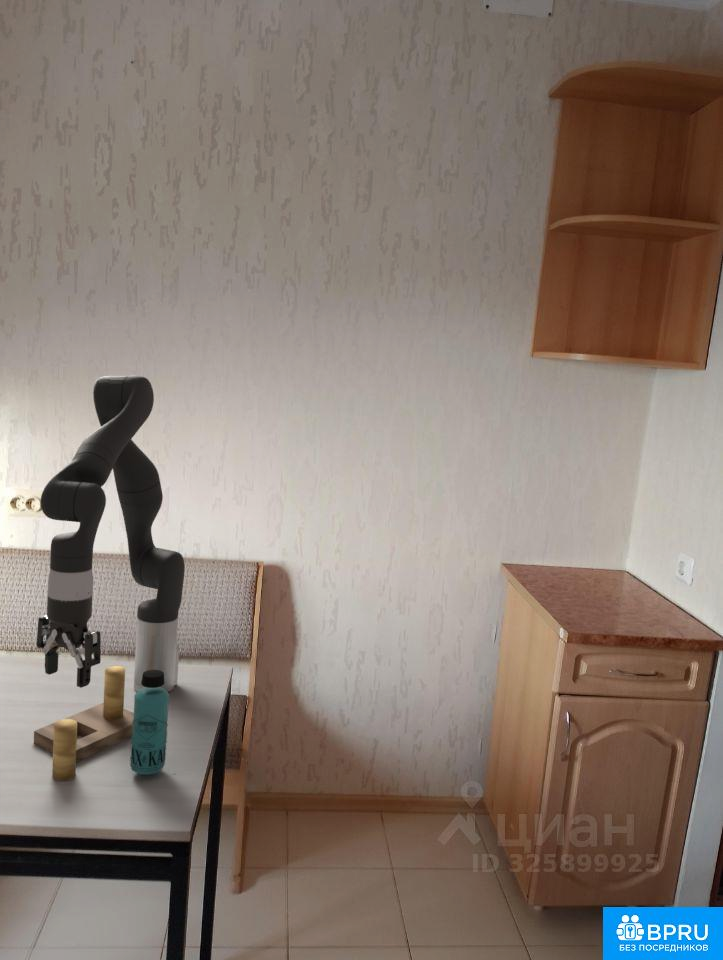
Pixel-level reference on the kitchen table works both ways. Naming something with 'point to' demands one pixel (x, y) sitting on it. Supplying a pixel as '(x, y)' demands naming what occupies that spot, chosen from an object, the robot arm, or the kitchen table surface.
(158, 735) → the beverage bottle
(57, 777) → the pin
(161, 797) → the kitchen table surface
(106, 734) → the pin plate
